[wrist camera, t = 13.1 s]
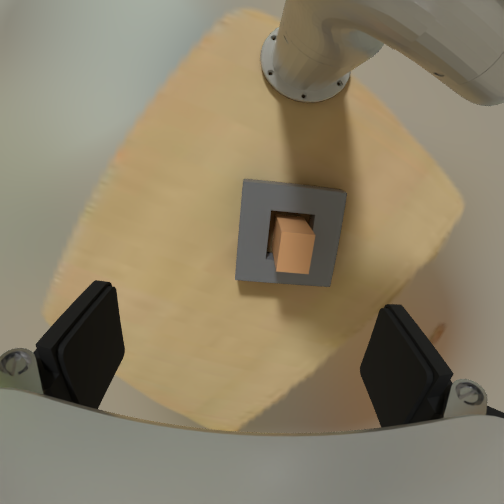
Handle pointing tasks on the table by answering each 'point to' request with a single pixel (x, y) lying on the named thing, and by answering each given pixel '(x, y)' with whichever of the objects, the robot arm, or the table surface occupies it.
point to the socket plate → (288, 200)
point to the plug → (292, 244)
